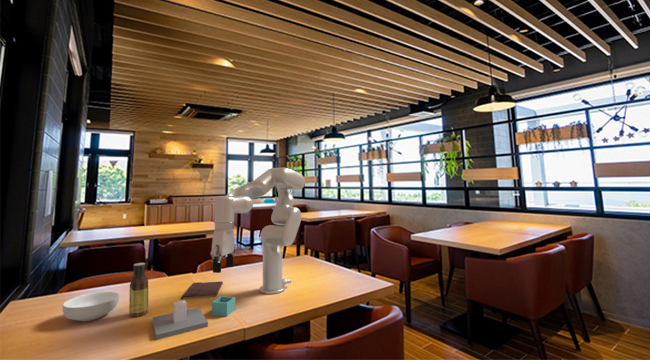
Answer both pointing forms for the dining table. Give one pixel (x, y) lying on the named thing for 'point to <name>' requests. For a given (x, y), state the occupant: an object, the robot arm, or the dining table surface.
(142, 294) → the sauce bottle
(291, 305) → the dining table surface
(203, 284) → the notebook
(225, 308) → the teal upright block
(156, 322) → the post base
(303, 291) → the dining table surface
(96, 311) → the cereal bowl
